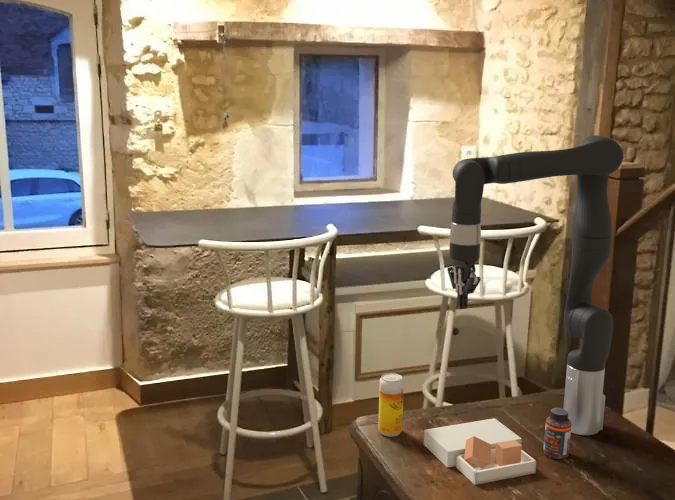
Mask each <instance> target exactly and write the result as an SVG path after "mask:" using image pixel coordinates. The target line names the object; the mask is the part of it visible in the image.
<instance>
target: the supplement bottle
mask: <svg viewBox="0 0 675 500" xmlns="http://www.w3.org/2000/svg"><path fill="white" fill-rule="evenodd" d="M544 427H545V428H544V440H543V453H544V454H545V456H547V457H548V458H550V459H554V460H564V459H567V458H568V457H569V455H570V454H569V453H570V445H571V444H570V442H571V436H572V434H571V421H570V420H569V419H568V411H567V410H565V409H564V408H561V407H554V408H552V409H550V416H548V417H546V421H545V426H544Z"/></svg>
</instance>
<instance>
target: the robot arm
mask: <svg viewBox="0 0 675 500" xmlns="http://www.w3.org/2000/svg"><path fill="white" fill-rule="evenodd" d="M623 160H624V152H623V148H622V147H621V145H620V144H619V143H618V142H617V141H616V140H614V139H612V138H610V137H608V136H607V137H606V136H603V135H597V134H596V135H595V134H594V135H591V136H587V137H586V138H584V139H583V140H581V142H580V143H579V145H578V146H574V147H570V148H565V149H558V150H557V149H556V150H537V151H535V150H534V151H522V152H514V153H508V154H500V155H497V156H486V157H485V156H483V157H471V158H464V159H462V160H460V161H458V162H457V163H456V164H455V165H454V167H453V169H452V179H453V180H454V182H455V185H454V186H455V187H454V201H453V203H452V208H451V209H452V210H451V211H452V213H451V226H450V229H449V231H450V233H449V252H448V253H449V254H448V257H449V259H450V260H451V261H452V266H448V267H447V269H446V270H447V273H448V276H449V280H450V283H451V287H452V289H453V290H455V293H456V294H457V295H456V308H458V309H460V310H464V309H465V310H466V309H468V300H469V297H468V296H469V295H471V294H474V292H475V291H476V289H477V287H479V284H480V283H481V277H480V276H477V275H476V262H477V261H479V260H480V257H481V256H480V255H481V243H482V241H481V240H482V238H481V237H482V229H481V227H482V226H481V221H482V220H481V219H482V218H481V217H482V200H483V195H484V188H485V185H489V184H499V185H505V184H514V183H515V184H516V183H520V182H528V181H534V180H540V179H545V178H546V179H547V178H553V177H562V176H576V200H575V207H574V209H575V210H574V219H573V229H572V243H571V261H570V262H571V263H570V272H569V273H570V274H569V275H570V276H569V283H568V290H567V294H566V295H567V296H566V301H565V307H564V313H563V314H564V315H563V325H564V329H565V330H566V332H567V333H569V335H571V336H573V337H575V338H578V339H581V340H582V343H581V348H578V349H573V350H571V351H570V352H569V353H568V355H567V359H566V360H567V361H566V374H565V386H564V399H563V409H565V410H567V411H568V419H569V420H570V421H571V433H572V434H575V435H581V436H591V435H592V436H593V435H595V434H598V433H599V432H600V431H603V426H604V415H605V407H606V406H605V405H606V395H605V394H604V392H603V391H604V382H605V381H604V380H605V371H606V363H607V361H608V358H609V357H610V356H609V355H610V351H611V346H612V340H613V339H612V338H613V331H614V318H613V316H612V313H611V312H610V311H609V310H608V309H606V308H603V307H601V306H598V305H595V304H593V303H592V297H593V295H592V294H593V288H594V283H595V281H596V278H598V276H599V274H600V273H601V271H602V270H603V268H604V267H605V265H606V264H607V262H608V261H609V259H610V256H611V253H612V252H611V250H612V242H613V241H612V239H613V222H612V221H613V220H612V217H611V216H612V215H611V209H610V204H609V199H608V185H609V177H610V175H611V174H613V173H614V172H616V171H617V170H618V169H619V168H620V167H621V165H622V163H623Z"/></svg>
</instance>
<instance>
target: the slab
mask: <svg viewBox="0 0 675 500" xmlns="http://www.w3.org/2000/svg"><path fill="white" fill-rule="evenodd" d="M473 436H475V437H477V438H479V439H481V440H483V441H485V442H487V443H489V444H491V449H494V448H496V443H498V442H504V441H511V440H516V441H517V442H518V443H519V444H521V445H522V438H521V436H519V435H518V434H516V433H515V432H513V431H512V430H511V429H509V428H508V427H507V426H506V425H504V424H503V423H501V422H500V421H499V419H496V418H494V417H493V418H488V419H481V420H477V421H470V422H464V423H458V424H451V425H446V426H445V425H444V426H440V427H433V428H428V429H424V431H423V446H424V447H426V448H427V449H428V450H429V451H430V452H431V454H433V455H434V456H435V458H437V459H438V460H439V461H440V462H441V463H442V464H443V465H444V466H445V467H446V468H452V467H456V455H461V454H465V445H466V440H467V439H469V438H471V437H473Z"/></svg>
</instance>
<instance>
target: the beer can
mask: <svg viewBox="0 0 675 500" xmlns="http://www.w3.org/2000/svg"><path fill="white" fill-rule="evenodd" d="M404 385H405V380H404V379H403V376H402V375H401V374H398V373H394V372H391V373H390V372H389V373H384V374H382V375H381V377H380V379H379V388H378V389H379V391H378V395H379V396H378V398H379V399H378V426H377V427H378V428H377V429H378V431H379V432H380V434H381V435H382V436H385V437H390V438H391V437H392V438H393V437H397V436H399V435H400V434H401V433H402V432H403V418H404V415H403V414H404Z"/></svg>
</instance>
